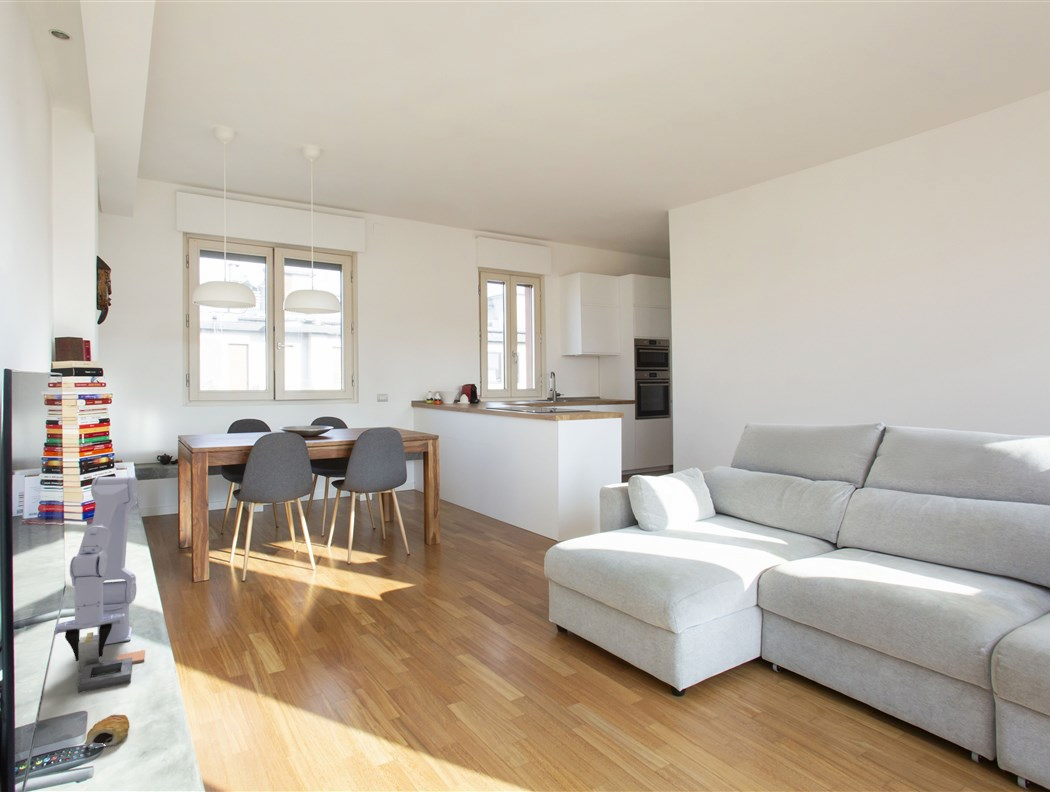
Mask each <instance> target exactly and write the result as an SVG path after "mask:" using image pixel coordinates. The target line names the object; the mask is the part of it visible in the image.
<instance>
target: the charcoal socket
mask: <svg viewBox="0 0 1050 792" xmlns="http://www.w3.org/2000/svg"><path fill="white" fill-rule="evenodd" d="M132 672H133V664H132V657H131V658H126V659H120V660H116V659H115V660H110V661H105V662H104V661H103V662H100V663H98V664H93V665H87V666H83V668H82V671H81V672H80V675H79V679H78V683H77V693H78V694H80V693H85V692H90V691H95V690H98V689H105V688H110V687H113V686H119V685H120V686H121V685H124V684H129V683H131V681H132ZM109 673H110V674H109ZM94 676H96V677H94Z"/></svg>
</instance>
